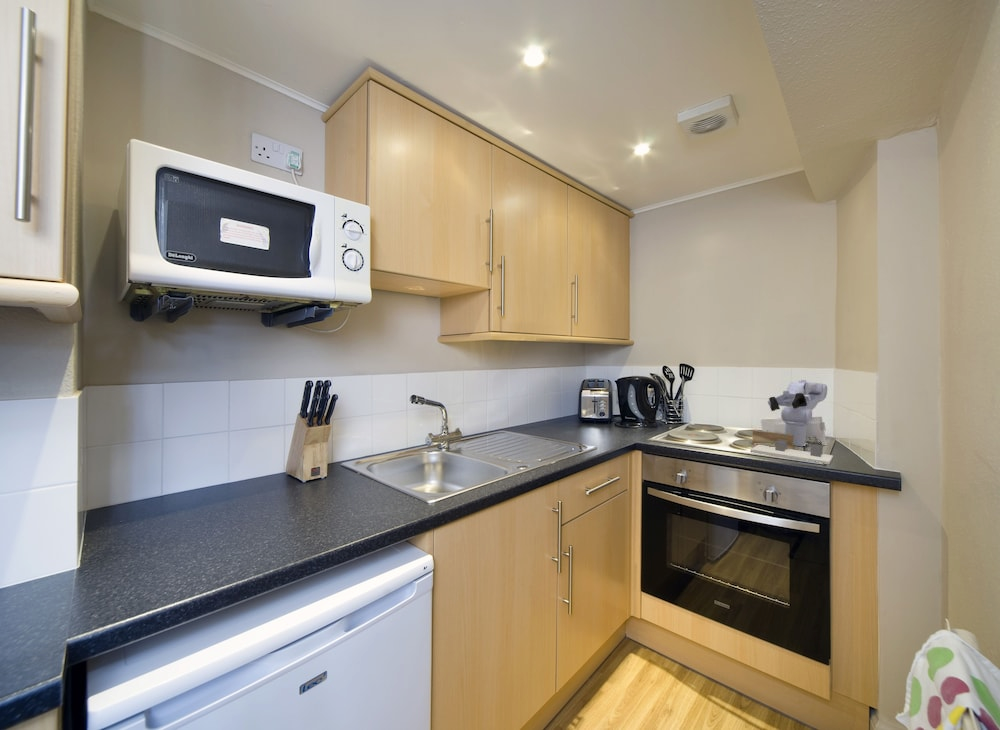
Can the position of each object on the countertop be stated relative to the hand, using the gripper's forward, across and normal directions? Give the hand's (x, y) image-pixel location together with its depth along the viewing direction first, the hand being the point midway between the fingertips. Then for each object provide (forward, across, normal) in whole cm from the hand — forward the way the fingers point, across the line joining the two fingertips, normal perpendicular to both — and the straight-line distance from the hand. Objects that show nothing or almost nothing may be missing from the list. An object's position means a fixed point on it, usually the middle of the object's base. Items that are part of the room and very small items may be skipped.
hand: (782, 407), depth 159 cm
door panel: (-1, -10, +17) cm, 20 cm away
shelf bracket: (-25, -10, +24) cm, 36 cm away
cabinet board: (+9, 0, +16) cm, 19 cm away
